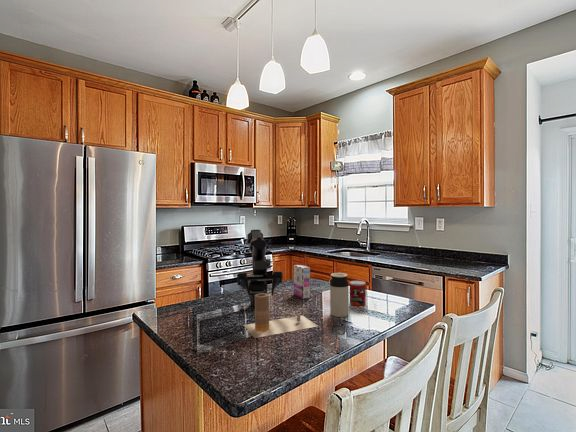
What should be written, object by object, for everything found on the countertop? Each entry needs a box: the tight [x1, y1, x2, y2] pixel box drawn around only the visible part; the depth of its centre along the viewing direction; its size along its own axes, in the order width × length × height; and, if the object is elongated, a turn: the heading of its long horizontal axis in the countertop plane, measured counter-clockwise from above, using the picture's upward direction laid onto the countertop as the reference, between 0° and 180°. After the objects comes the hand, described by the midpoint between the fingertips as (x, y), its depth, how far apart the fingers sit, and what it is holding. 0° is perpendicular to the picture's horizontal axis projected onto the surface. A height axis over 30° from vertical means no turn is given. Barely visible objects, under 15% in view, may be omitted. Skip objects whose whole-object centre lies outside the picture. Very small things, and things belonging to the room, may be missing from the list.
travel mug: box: [329, 272, 350, 318], centre depth 140 cm, size 8×8×18 cm
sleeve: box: [254, 293, 270, 332], centre depth 120 cm, size 5×5×13 cm
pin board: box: [243, 313, 319, 339], centre depth 124 cm, size 26×14×5 cm, turn 114°
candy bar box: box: [293, 264, 311, 300], centre depth 171 cm, size 11×5×16 cm, turn 25°
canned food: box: [349, 280, 367, 308], centre depth 155 cm, size 8×8×11 cm
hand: (260, 296), depth 126 cm, fingers open, 9 cm apart
